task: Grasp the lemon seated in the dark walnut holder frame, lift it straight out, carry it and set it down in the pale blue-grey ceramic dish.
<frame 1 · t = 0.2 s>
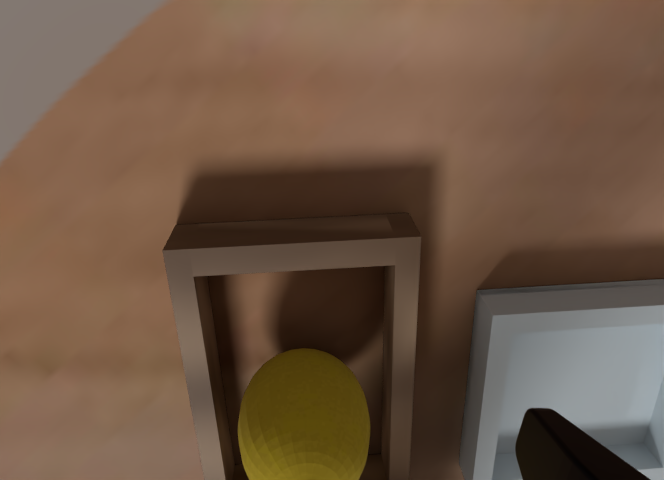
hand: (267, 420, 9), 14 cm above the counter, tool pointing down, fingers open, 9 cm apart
lemon: (302, 360, 26), resting in holder frame
dish: (572, 376, 27), on the counter
holder frame: (302, 363, 26), on the counter
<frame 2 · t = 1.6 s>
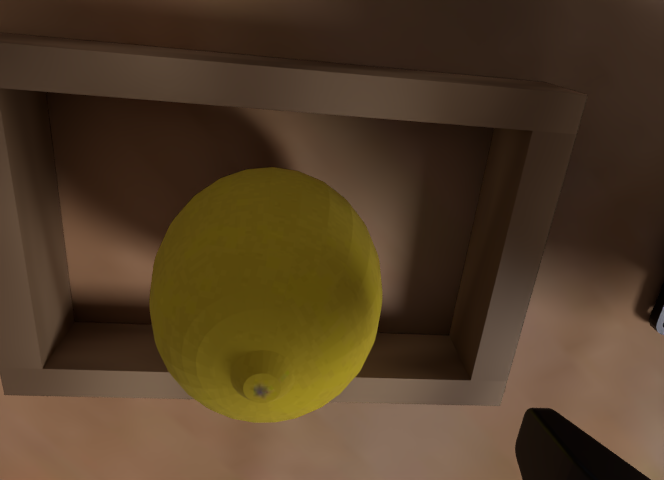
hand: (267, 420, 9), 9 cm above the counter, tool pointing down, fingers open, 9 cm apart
lemon: (274, 220, 17), resting in holder frame
holder frame: (274, 223, 17), on the counter
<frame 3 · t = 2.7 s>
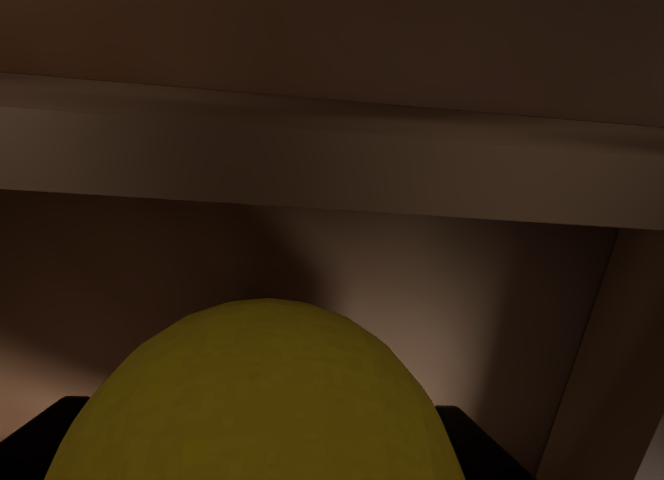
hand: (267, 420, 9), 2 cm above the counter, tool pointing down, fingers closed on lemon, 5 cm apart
lemon: (272, 341, 11), resting in holder frame, touching gripper
holder frame: (272, 348, 11), on the counter
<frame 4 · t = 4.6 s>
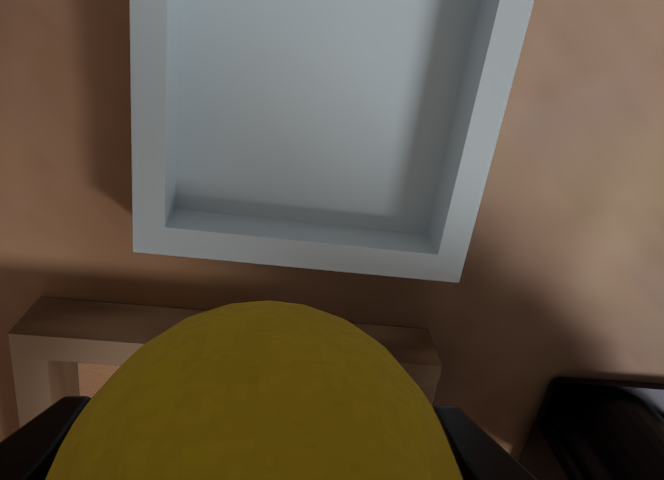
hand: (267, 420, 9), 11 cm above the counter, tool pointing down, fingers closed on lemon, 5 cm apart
lemon: (271, 343, 11), point 9 cm above the counter, touching gripper
dish: (320, 91, 18), on the counter
holder frame: (234, 410, 23), on the counter
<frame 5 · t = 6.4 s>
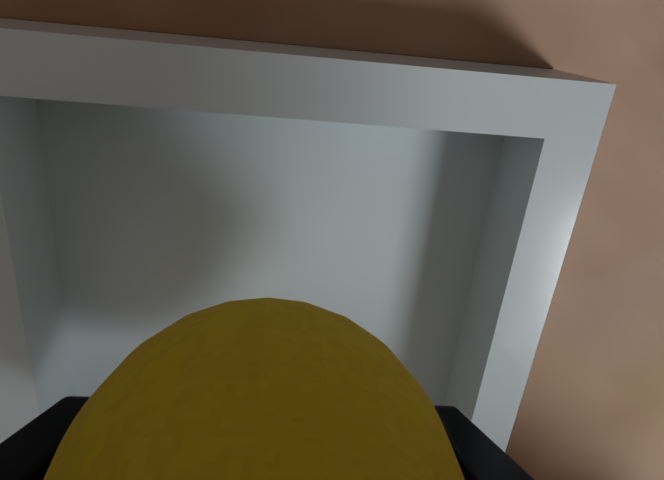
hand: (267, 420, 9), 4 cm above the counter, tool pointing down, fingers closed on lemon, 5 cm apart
lemon: (271, 341, 11), point 2 cm above the counter, touching gripper
dish: (271, 293, 12), on the counter
when the fingers open (4 cm above the counter, at t = 6.5 s): lemon drops 1 cm, resting on dish.
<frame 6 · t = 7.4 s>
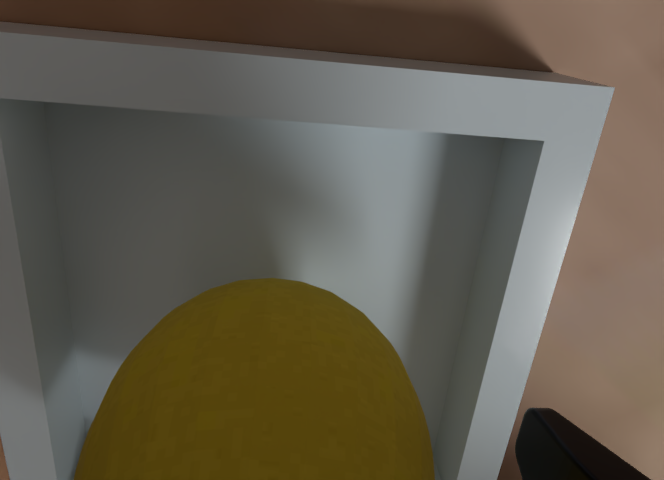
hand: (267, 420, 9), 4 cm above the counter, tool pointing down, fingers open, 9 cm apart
lemon: (277, 304, 12), point 1 cm above the counter, touching dish
dish: (274, 293, 13), on the counter
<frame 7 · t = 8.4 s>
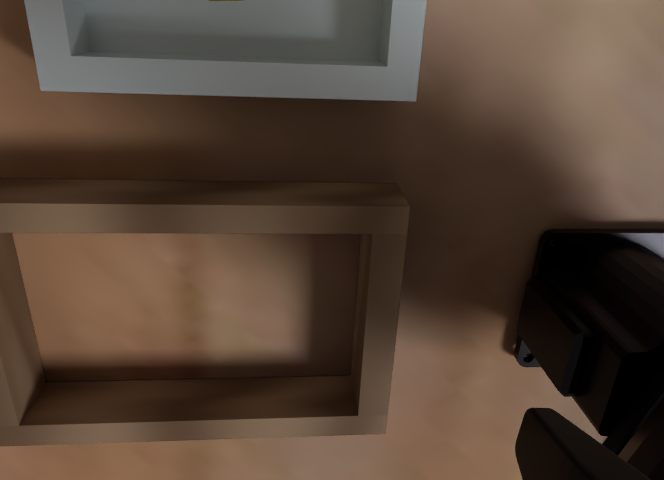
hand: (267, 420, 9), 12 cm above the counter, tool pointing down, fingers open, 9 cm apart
holder frame: (196, 299, 21), on the counter
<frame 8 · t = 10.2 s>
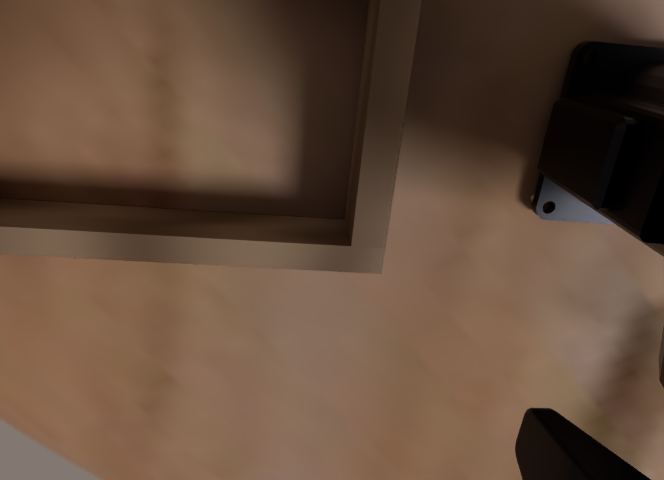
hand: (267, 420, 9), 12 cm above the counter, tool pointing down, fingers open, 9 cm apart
holder frame: (170, 101, 18), on the counter
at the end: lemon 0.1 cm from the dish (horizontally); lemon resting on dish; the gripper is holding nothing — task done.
